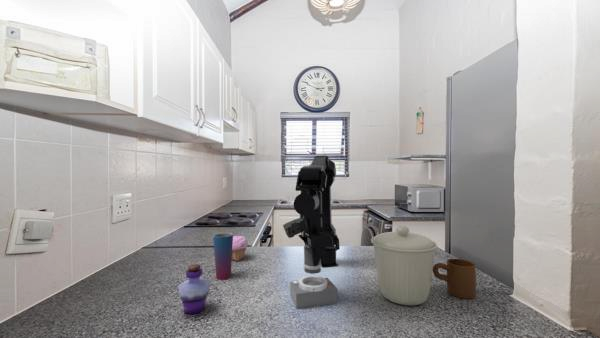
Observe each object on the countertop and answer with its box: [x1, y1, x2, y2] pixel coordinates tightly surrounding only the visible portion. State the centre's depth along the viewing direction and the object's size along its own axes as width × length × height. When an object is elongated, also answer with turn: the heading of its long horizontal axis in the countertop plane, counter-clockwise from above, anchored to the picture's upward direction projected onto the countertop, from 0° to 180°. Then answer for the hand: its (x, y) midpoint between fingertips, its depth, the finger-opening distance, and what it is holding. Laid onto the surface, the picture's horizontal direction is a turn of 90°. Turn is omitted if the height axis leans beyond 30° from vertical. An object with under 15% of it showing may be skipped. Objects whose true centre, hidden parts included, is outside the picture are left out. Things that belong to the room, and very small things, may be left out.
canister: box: [370, 225, 438, 307], centre depth 79 cm, size 18×18×21 cm
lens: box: [303, 244, 322, 275], centre depth 78 cm, size 5×5×7 cm
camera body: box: [289, 275, 338, 310], centre depth 78 cm, size 12×8×5 cm
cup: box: [212, 232, 234, 281], centre depth 95 cm, size 7×7×15 cm
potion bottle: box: [177, 263, 211, 316], centre depth 73 cm, size 9×9×12 cm
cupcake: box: [232, 235, 248, 262], centre depth 114 cm, size 9×9×10 cm
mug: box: [432, 258, 477, 300], centre depth 81 cm, size 12×8×9 cm, turn 85°
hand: (312, 262), depth 78 cm, fingers closed on lens, 5 cm apart
